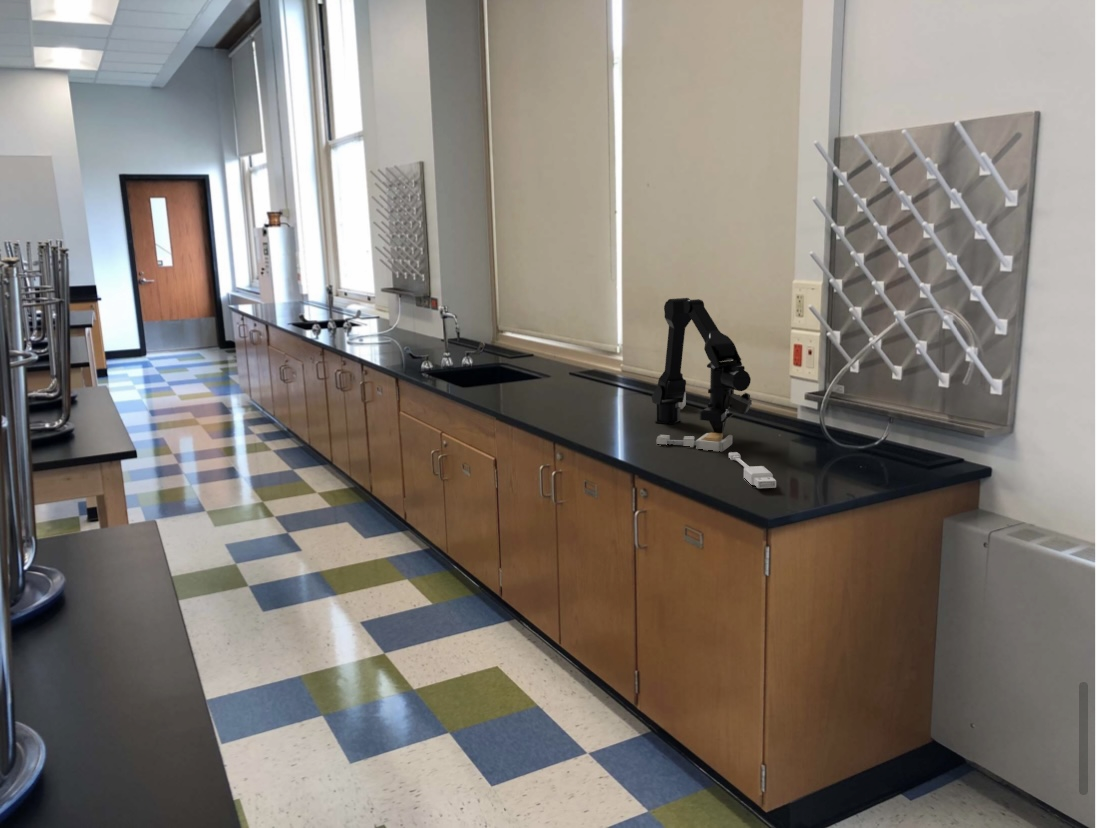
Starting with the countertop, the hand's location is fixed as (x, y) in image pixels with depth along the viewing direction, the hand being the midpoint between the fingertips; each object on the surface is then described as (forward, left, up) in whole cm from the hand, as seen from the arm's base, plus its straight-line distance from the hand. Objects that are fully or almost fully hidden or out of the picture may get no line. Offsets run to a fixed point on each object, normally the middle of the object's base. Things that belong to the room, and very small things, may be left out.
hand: (719, 438), depth 245 cm
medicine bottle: (-29, +41, -1) cm, 50 cm away
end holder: (0, -6, -1) cm, 6 cm away
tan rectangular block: (0, -6, -1) cm, 6 cm away
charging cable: (+16, -28, -1) cm, 32 cm away
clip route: (-10, -8, -1) cm, 13 cm away
